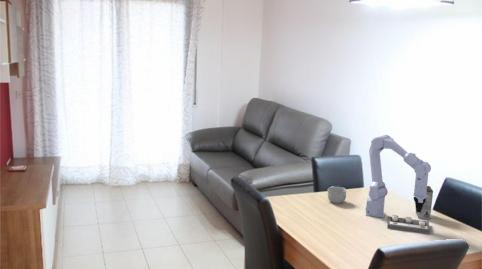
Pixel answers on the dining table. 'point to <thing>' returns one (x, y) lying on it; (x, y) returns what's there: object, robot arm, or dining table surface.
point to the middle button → (408, 220)
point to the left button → (394, 218)
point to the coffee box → (426, 205)
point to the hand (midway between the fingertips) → (418, 211)
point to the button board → (408, 225)
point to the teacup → (336, 194)
